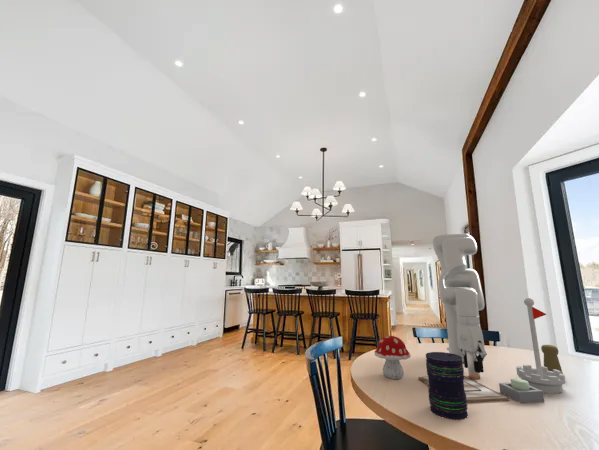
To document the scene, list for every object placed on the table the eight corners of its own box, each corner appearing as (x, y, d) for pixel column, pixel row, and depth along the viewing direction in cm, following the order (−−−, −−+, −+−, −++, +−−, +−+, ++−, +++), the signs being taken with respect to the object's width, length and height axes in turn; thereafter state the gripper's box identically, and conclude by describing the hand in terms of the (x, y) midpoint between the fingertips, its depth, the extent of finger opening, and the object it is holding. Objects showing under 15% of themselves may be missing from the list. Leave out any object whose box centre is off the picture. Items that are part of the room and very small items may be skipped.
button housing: (500, 392, 96) (499, 383, 97) (522, 391, 97) (521, 382, 97) (520, 403, 88) (519, 392, 89) (544, 401, 89) (543, 391, 90)
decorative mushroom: (380, 369, 122) (378, 331, 125) (415, 374, 115) (412, 334, 118) (370, 378, 110) (368, 337, 113) (409, 385, 104) (406, 340, 106)
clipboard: (417, 379, 110) (417, 375, 110) (463, 377, 112) (462, 373, 112) (453, 403, 88) (452, 398, 88) (509, 400, 90) (508, 395, 90)
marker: (466, 376, 113) (462, 343, 115) (476, 375, 113) (472, 343, 115) (473, 379, 109) (469, 345, 111) (483, 379, 109) (479, 345, 111)
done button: (508, 390, 95) (507, 378, 95) (521, 390, 95) (519, 378, 96) (520, 396, 90) (518, 383, 91) (534, 395, 91) (532, 383, 91)
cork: (567, 378, 110) (562, 347, 112) (549, 377, 111) (544, 346, 113) (557, 373, 115) (552, 343, 117) (540, 372, 117) (535, 343, 119)
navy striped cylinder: (451, 423, 76) (445, 362, 79) (422, 408, 85) (417, 354, 88) (476, 415, 80) (470, 358, 83) (446, 402, 89) (441, 350, 92)
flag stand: (509, 383, 105) (498, 297, 110) (534, 378, 109) (522, 296, 114) (550, 397, 93) (535, 300, 98) (576, 391, 97) (560, 298, 102)
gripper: (446, 317, 123) (451, 363, 119) (474, 323, 106) (480, 377, 103) (463, 317, 123) (468, 363, 120) (493, 323, 107) (500, 376, 103)
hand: (473, 369), depth 111 cm, fingers open, 5 cm apart
